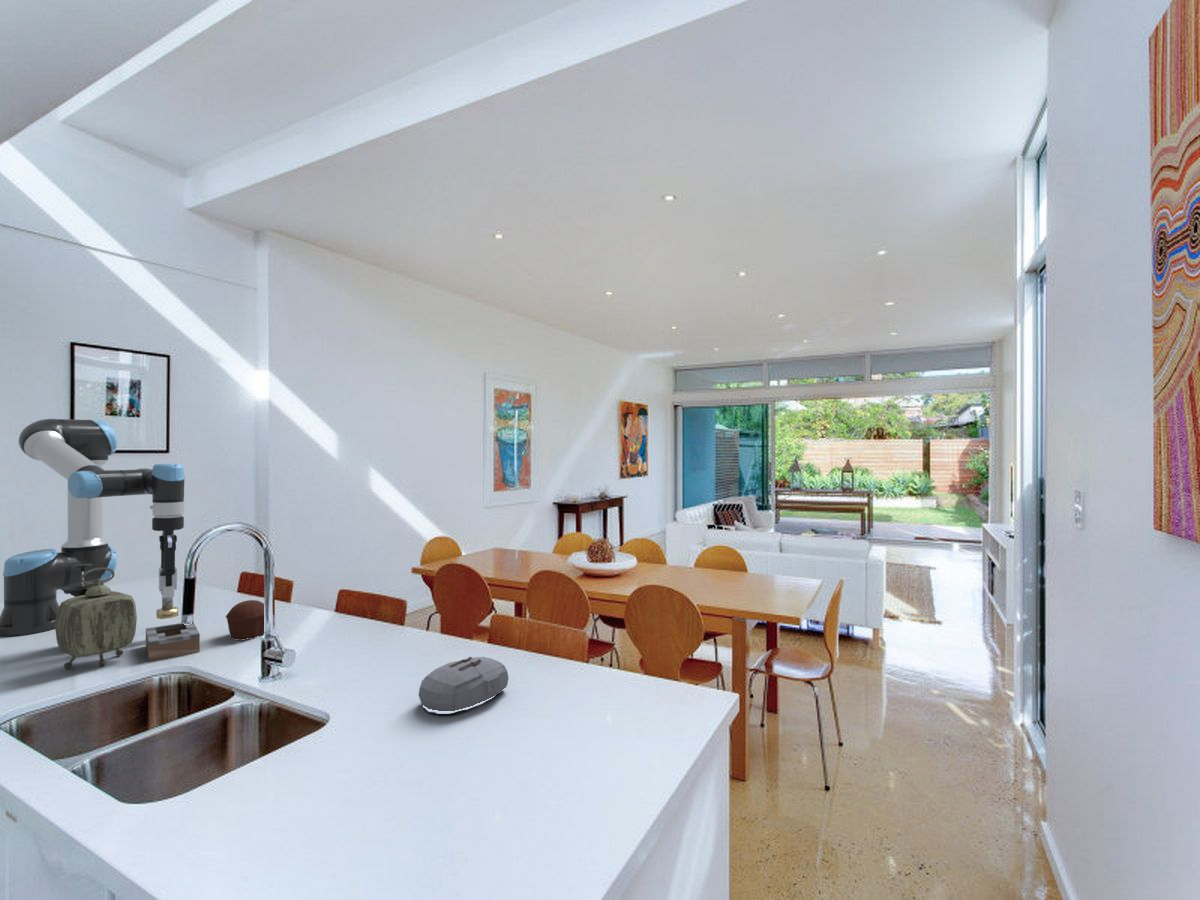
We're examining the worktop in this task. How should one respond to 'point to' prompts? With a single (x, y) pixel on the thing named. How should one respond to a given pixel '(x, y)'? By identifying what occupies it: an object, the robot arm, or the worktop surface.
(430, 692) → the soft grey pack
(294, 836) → the worktop surface
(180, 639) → the keyhole block
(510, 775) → the worktop surface
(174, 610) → the headed peg
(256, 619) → the muffin
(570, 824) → the worktop surface
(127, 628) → the tabletop clock
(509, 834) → the worktop surface
